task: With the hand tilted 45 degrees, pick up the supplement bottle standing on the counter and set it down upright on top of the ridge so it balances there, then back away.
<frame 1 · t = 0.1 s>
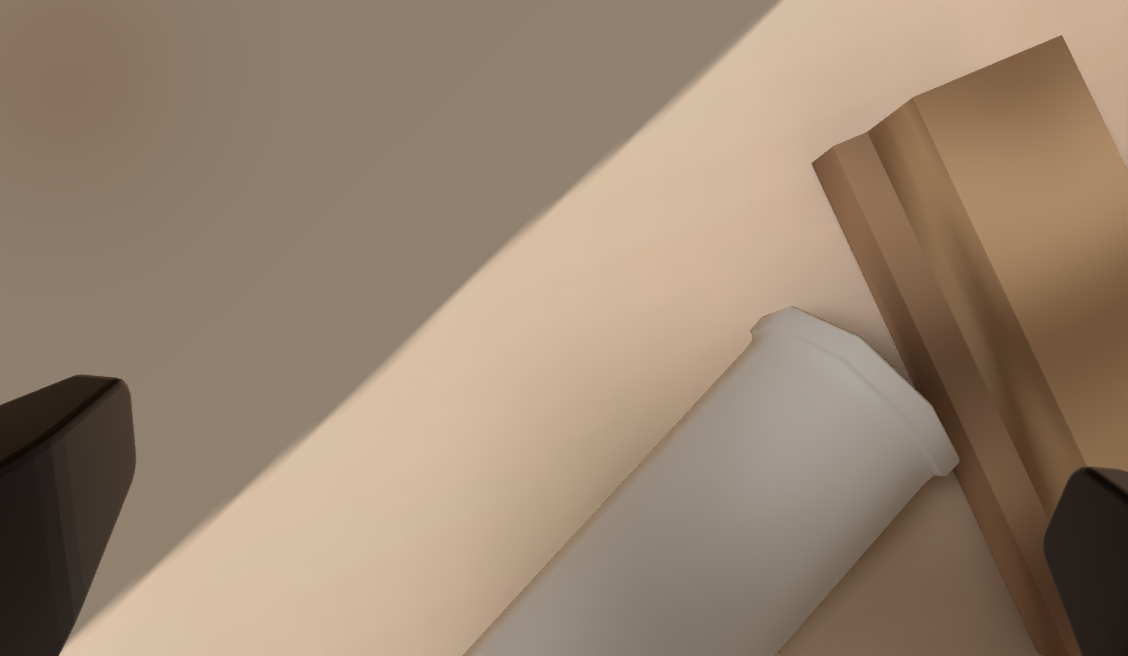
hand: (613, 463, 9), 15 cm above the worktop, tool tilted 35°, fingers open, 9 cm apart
ridge: (1020, 358, 25), on the worktop
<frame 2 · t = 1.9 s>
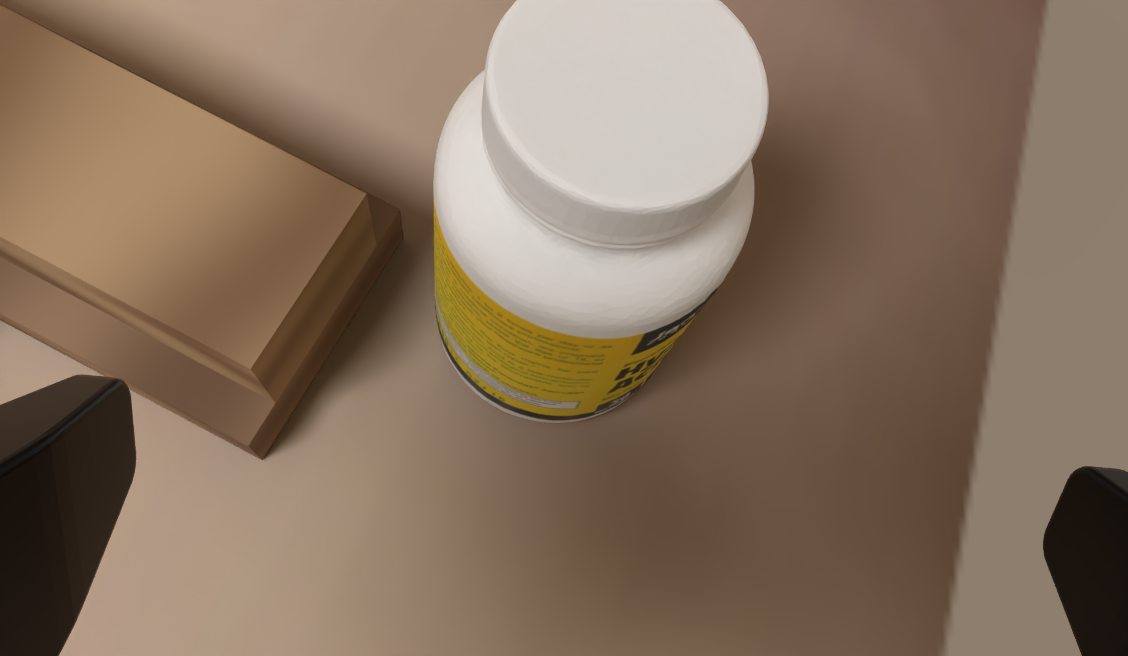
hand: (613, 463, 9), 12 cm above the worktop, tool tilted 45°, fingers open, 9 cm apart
supplement bottle: (552, 318, 22), on the worktop
ridge: (69, 203, 22), on the worktop
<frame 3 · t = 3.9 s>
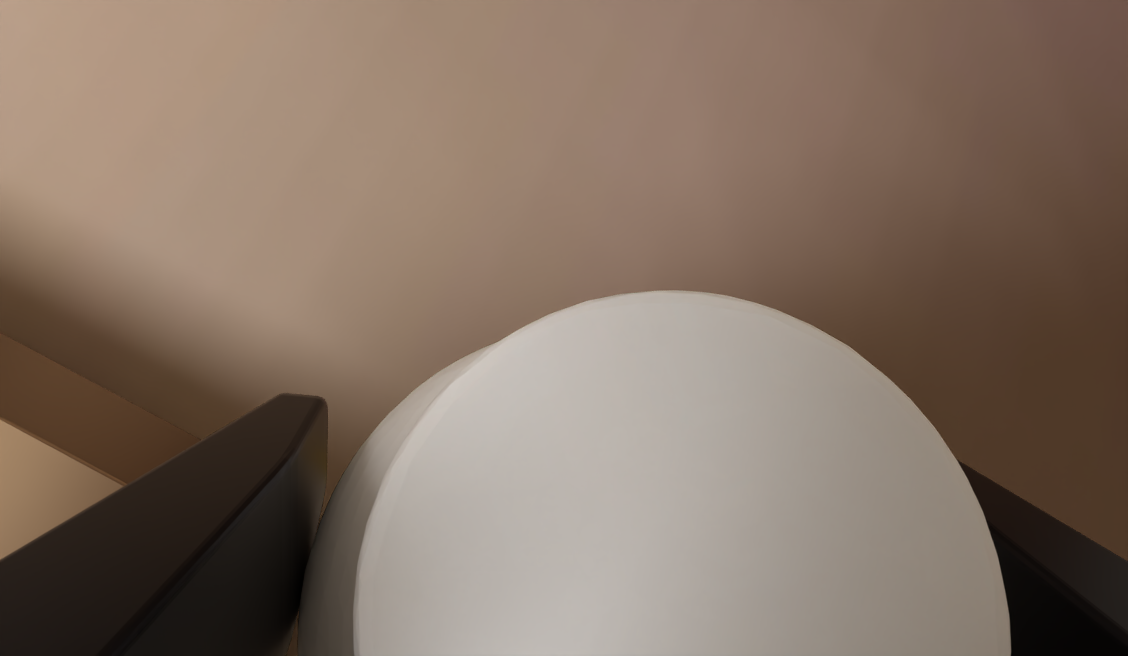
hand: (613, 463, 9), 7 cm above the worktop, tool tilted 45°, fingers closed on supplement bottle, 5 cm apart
supplement bottle: (539, 627, 15), on the worktop, touching gripper
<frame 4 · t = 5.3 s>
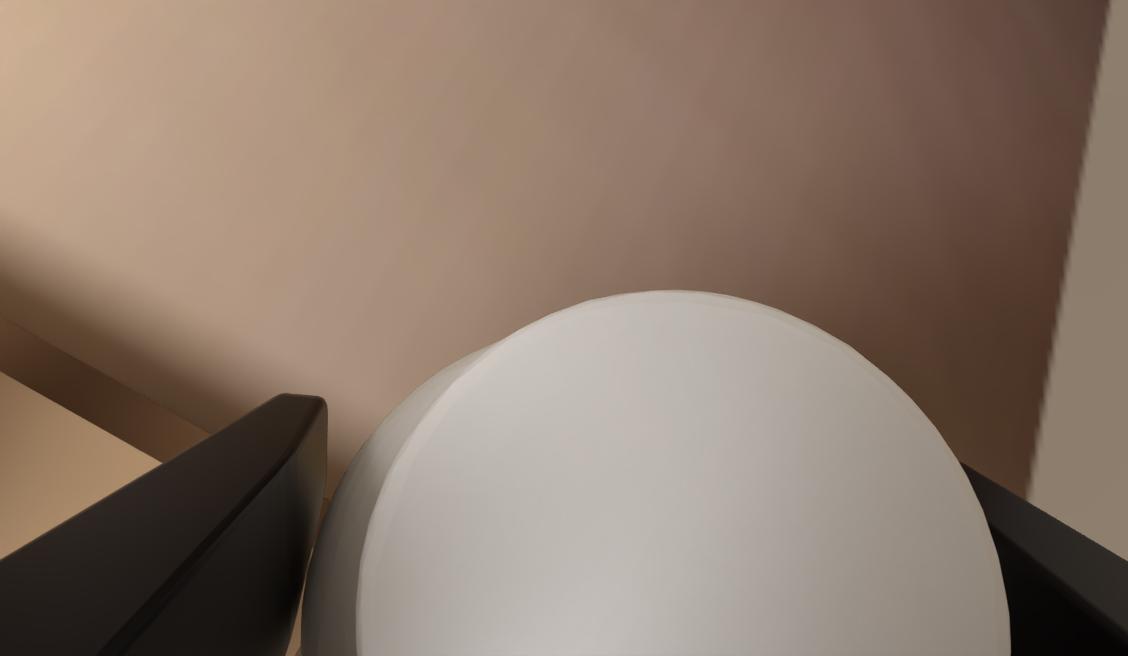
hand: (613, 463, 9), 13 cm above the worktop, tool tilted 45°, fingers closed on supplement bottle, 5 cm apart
supplement bottle: (541, 625, 15), point 6 cm above the worktop, touching gripper
ridge: (42, 505, 21), on the worktop
when the fingers open (11 cm above the worktop, at t = 6.6 s): supplement bottle stays where it is, resting on ridge.
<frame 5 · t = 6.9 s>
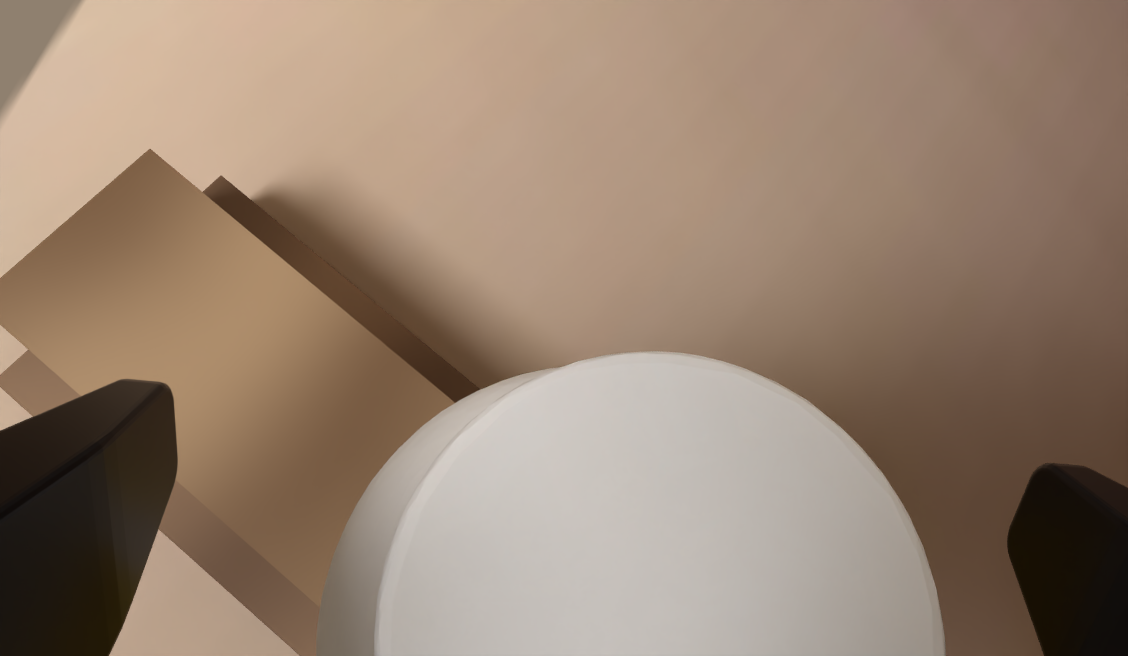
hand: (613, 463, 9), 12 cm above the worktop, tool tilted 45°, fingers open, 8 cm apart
supplement bottle: (533, 638, 16), point 4 cm above the worktop, touching ridge
ridge: (375, 504, 20), on the worktop
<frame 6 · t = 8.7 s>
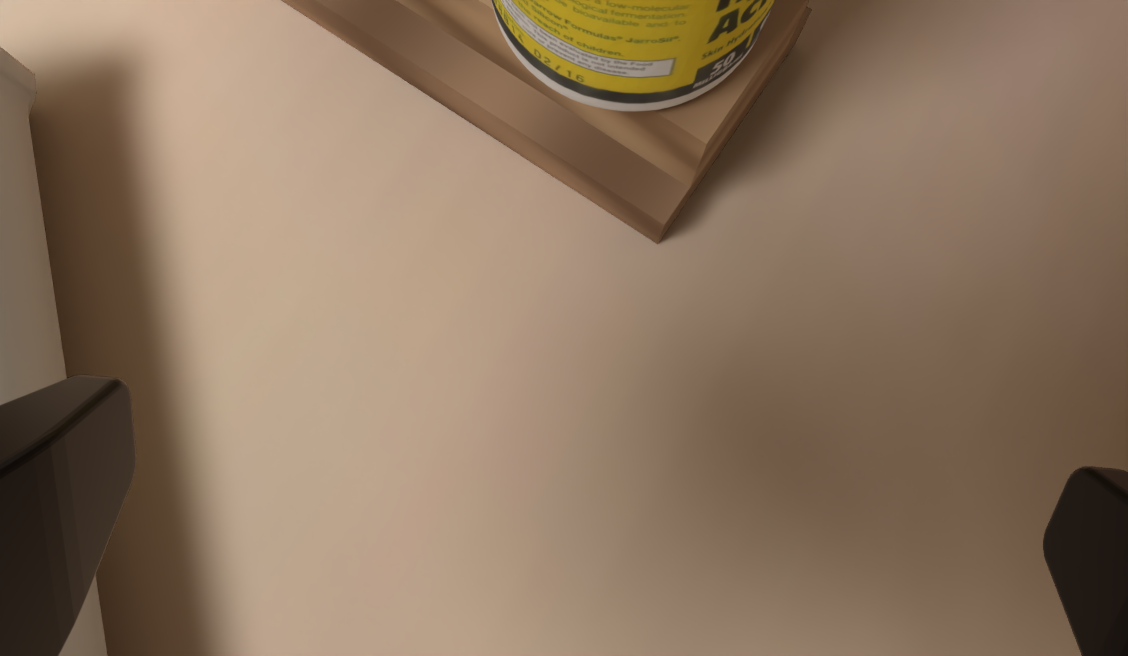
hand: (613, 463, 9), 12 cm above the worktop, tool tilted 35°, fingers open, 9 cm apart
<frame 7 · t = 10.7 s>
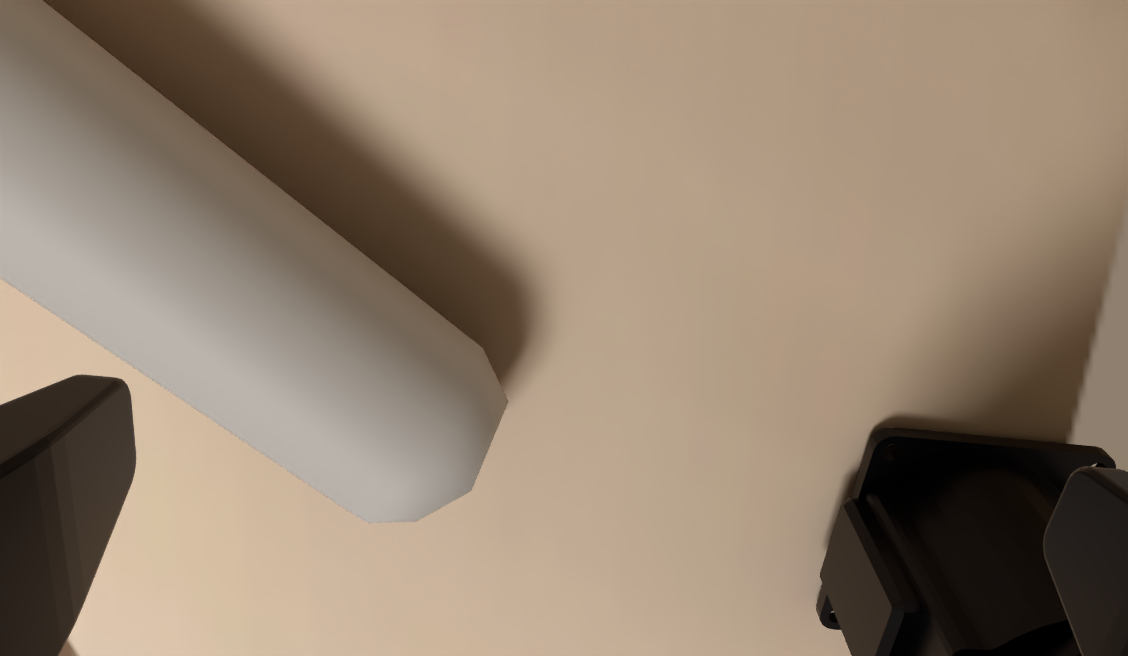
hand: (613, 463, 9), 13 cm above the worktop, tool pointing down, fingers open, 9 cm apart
tube: (41, 79, 20), on the worktop
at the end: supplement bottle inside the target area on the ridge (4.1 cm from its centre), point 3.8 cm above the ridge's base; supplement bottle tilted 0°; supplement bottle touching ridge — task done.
